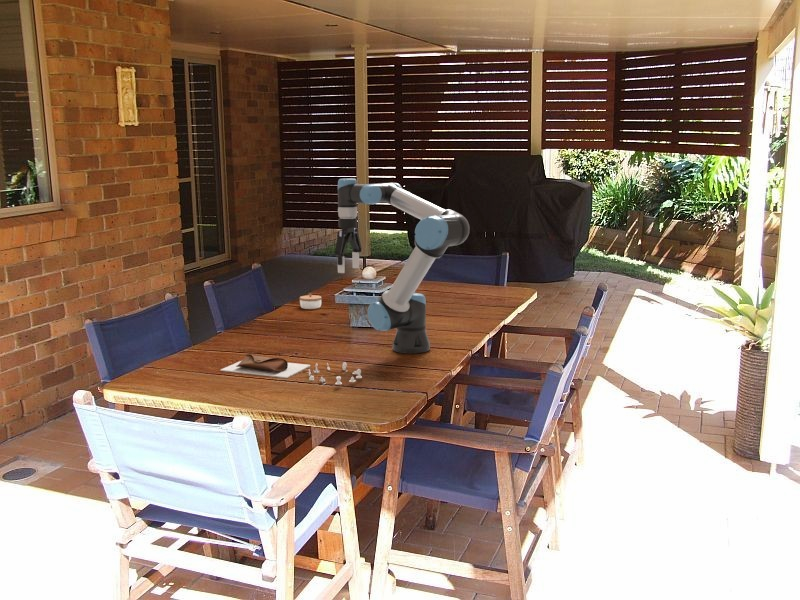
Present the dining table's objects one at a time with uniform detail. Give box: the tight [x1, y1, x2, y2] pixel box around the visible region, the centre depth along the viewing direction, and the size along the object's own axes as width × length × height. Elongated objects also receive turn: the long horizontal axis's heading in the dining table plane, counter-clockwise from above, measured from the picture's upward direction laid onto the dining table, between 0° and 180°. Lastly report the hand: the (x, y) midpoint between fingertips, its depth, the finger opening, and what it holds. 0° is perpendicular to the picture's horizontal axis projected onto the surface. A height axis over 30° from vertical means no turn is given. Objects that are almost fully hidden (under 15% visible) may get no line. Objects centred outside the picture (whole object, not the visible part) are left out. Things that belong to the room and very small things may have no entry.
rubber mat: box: [220, 360, 312, 379], centre depth 313 cm, size 28×18×1 cm, turn 68°
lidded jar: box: [299, 293, 322, 310], centre depth 414 cm, size 11×11×9 cm
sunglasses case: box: [236, 353, 289, 371], centre depth 310 cm, size 18×7×7 cm
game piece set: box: [307, 361, 363, 385], centre depth 302 cm, size 19×20×4 cm
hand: (348, 270), depth 338 cm, fingers open, 13 cm apart
